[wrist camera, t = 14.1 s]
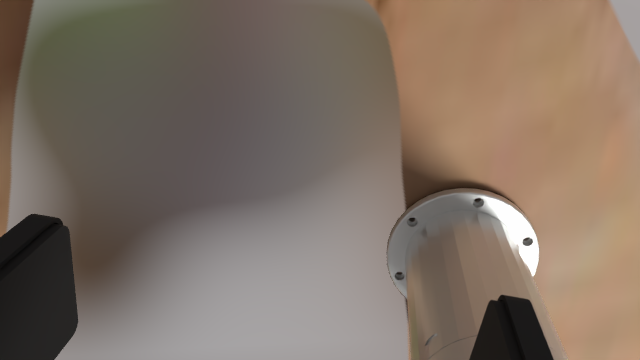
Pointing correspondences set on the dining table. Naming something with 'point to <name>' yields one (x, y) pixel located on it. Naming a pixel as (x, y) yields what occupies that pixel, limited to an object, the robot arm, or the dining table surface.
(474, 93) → the dining table surface
